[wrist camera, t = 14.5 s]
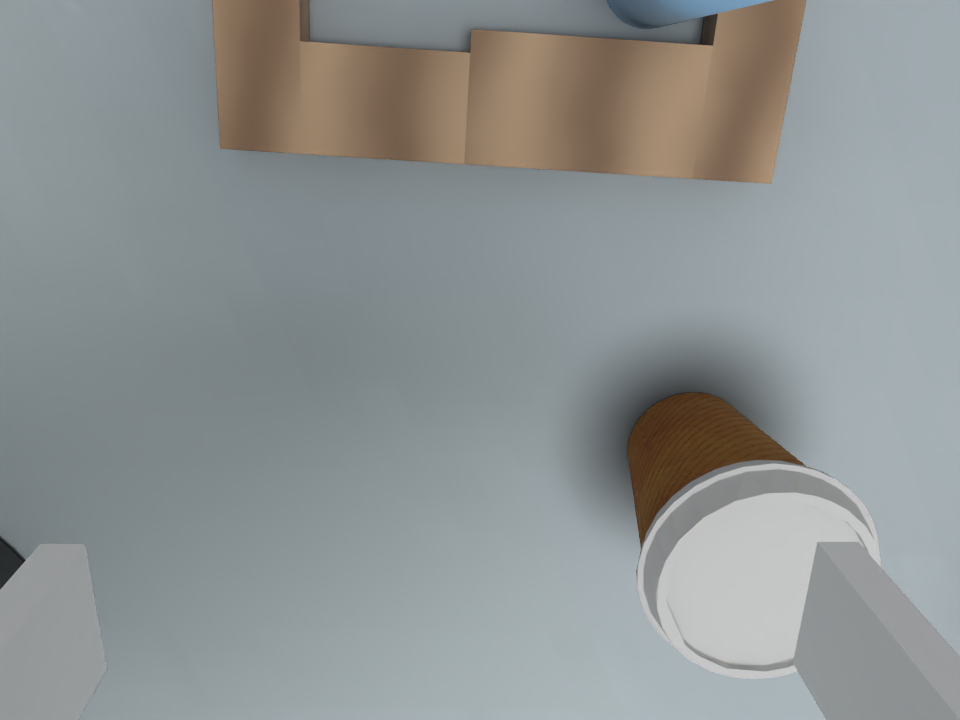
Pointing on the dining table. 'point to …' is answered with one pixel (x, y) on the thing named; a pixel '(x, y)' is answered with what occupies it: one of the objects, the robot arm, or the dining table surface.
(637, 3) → the peg
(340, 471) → the dining table surface
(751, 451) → the disposable coffee cup
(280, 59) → the keyhole board
